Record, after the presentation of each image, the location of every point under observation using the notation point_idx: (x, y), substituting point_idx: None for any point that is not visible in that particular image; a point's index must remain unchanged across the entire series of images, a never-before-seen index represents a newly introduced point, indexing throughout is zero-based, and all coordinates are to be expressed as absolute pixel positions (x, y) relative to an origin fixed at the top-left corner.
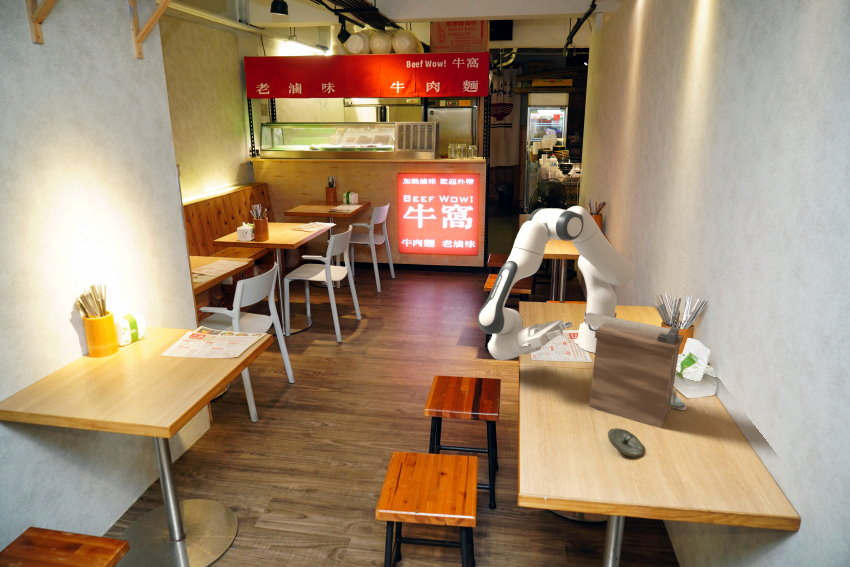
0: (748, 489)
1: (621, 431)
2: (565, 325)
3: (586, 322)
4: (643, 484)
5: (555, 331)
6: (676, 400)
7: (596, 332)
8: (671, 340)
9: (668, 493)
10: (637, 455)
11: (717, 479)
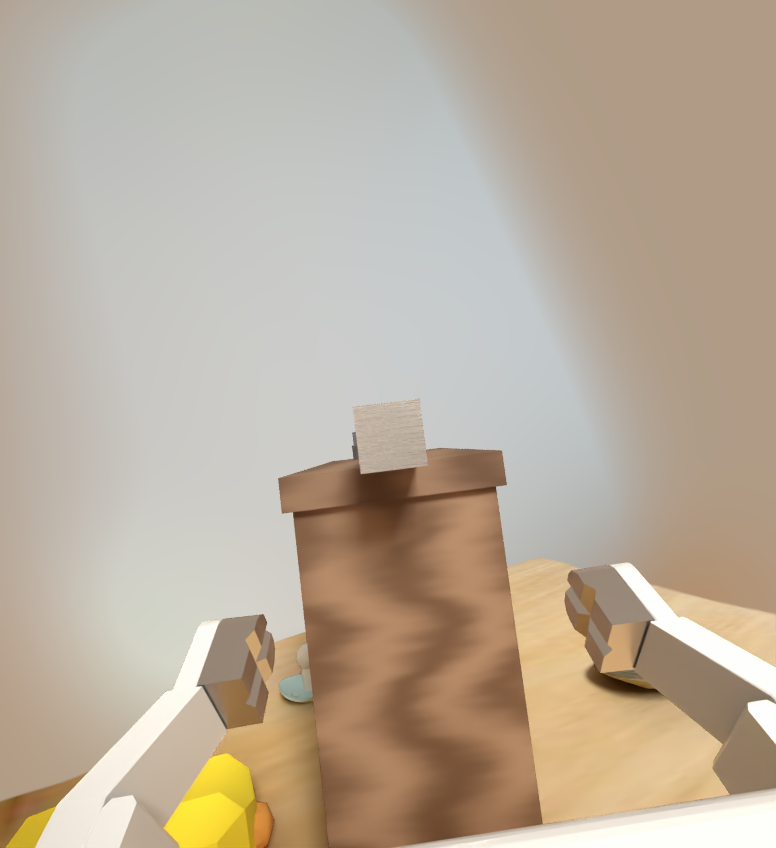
0: (535, 576)
1: (633, 671)
2: (193, 740)
3: (425, 453)
4: (716, 626)
5: (665, 606)
6: (296, 685)
7: (500, 454)
8: None
9: (678, 605)
10: None
11: (552, 592)
